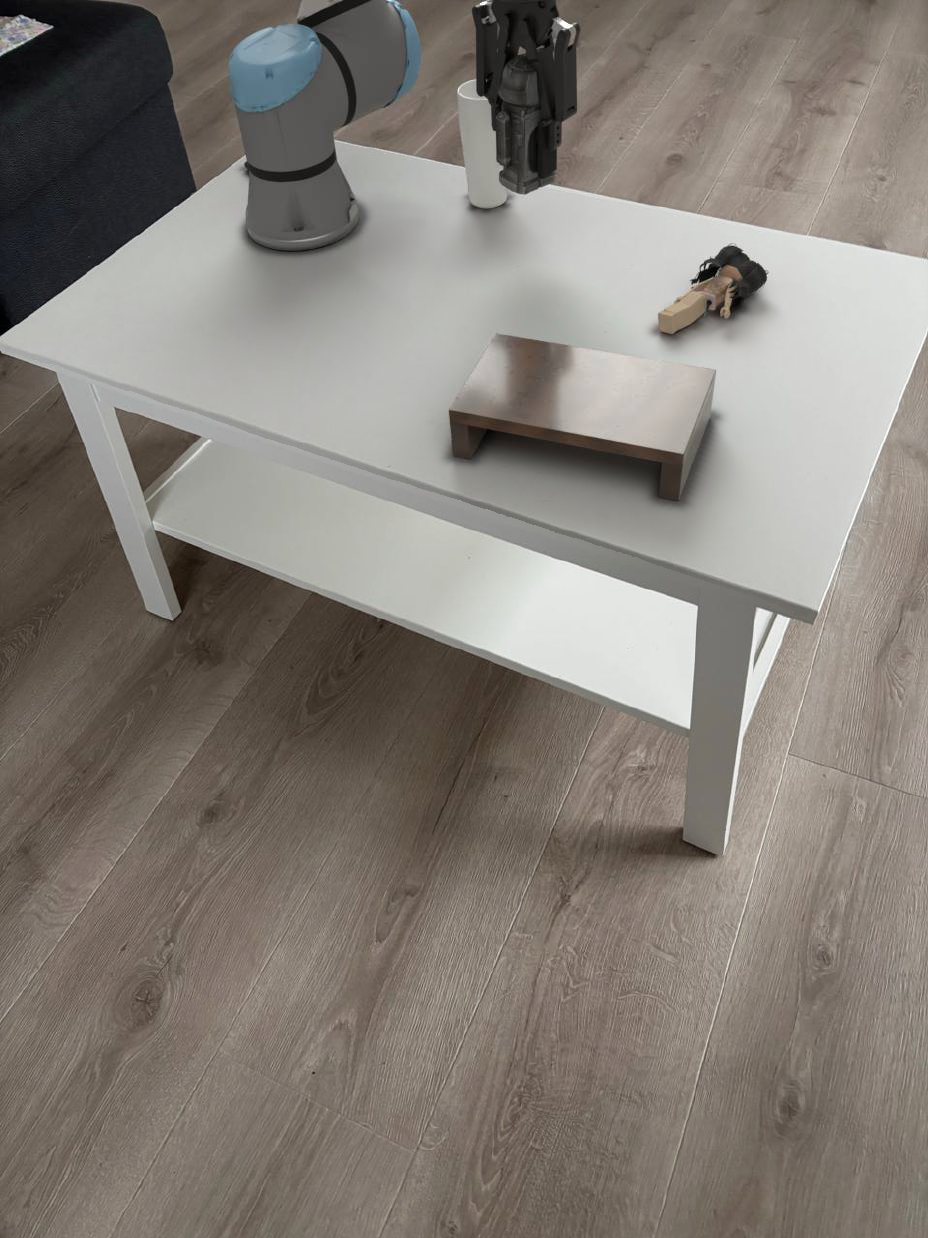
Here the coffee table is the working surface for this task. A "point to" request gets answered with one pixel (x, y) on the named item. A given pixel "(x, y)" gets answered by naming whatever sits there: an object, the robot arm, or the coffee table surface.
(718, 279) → the toy figure
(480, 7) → the robot arm
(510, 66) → the toy
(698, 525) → the coffee table surface
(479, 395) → the shelf
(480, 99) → the drinking glass
